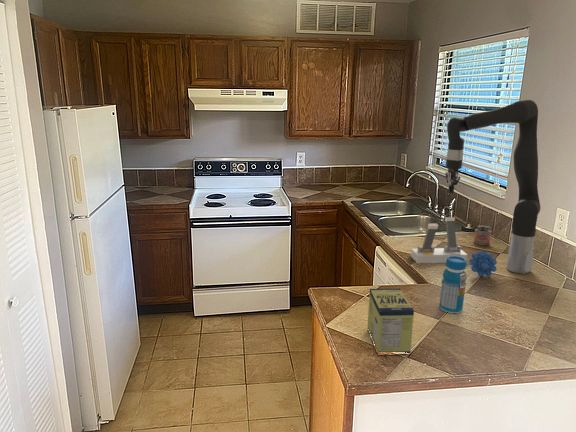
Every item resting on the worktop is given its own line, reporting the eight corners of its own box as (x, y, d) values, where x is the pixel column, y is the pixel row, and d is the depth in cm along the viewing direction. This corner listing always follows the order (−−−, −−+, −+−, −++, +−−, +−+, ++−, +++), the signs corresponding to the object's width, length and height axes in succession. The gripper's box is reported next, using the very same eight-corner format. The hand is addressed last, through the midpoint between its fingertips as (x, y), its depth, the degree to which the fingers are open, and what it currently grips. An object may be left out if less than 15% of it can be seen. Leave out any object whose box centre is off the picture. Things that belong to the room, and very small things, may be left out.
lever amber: (429, 249, 208) (437, 223, 198) (430, 252, 206) (438, 225, 196) (420, 250, 207) (428, 223, 197) (421, 252, 206) (429, 226, 196)
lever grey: (456, 251, 208) (453, 217, 210) (457, 251, 206) (455, 217, 209) (447, 251, 208) (444, 217, 210) (448, 251, 206) (446, 217, 208)
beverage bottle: (441, 313, 157) (447, 262, 151) (436, 302, 165) (442, 254, 160) (465, 315, 156) (472, 264, 150) (459, 304, 164) (465, 255, 158)
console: (458, 255, 213) (459, 242, 211) (466, 262, 204) (468, 249, 203) (410, 256, 212) (411, 243, 210) (416, 263, 203) (418, 250, 201)
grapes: (469, 279, 186) (473, 253, 183) (466, 273, 192) (469, 247, 189) (498, 281, 184) (502, 255, 181) (493, 274, 191) (497, 249, 187)
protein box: (396, 329, 147) (400, 287, 143) (410, 355, 132) (415, 310, 128) (366, 329, 147) (369, 287, 142) (377, 356, 132) (380, 310, 127)
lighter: (473, 243, 230) (475, 225, 227) (473, 241, 233) (476, 224, 230) (489, 245, 226) (492, 227, 224) (489, 244, 229) (492, 226, 226)
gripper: (441, 156, 219) (438, 189, 224) (452, 160, 206) (448, 195, 211) (456, 156, 219) (452, 189, 224) (468, 160, 207) (463, 195, 211)
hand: (450, 192), depth 217 cm, fingers closed
